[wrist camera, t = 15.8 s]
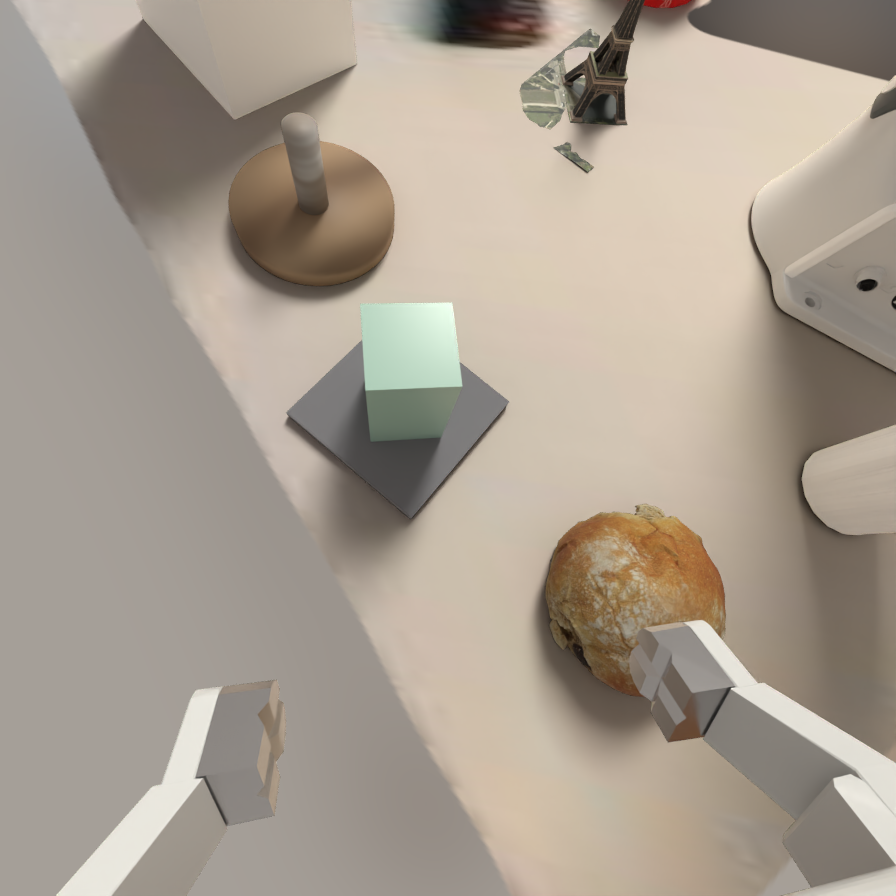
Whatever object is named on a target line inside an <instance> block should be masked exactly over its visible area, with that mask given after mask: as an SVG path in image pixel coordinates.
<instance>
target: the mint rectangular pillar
mask: <svg viewBox="0 0 896 896" xmlns="http://www.w3.org/2000/svg"><path fill="white" fill-rule="evenodd" d="M360 309H361V326H362V342H363V358H364V375H365V391H366V401H367V411H368V420H369V430H370V440H371V442H376V441H392V440H408V439H425V438H441V437H442V434H443V432H444V429H445V427H446V425H447V422H448V420H449V417H450V415H451V413H452V410H453V408H454V405H455V403H456V401H457V398H458V396H459V393H460V391H461V389H462V378H461V370H460V362H459V354H458V346H457V338H456V330H455V321H454V313H453V305H452V303H383V304H360Z"/></svg>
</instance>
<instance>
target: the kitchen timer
mask: <svg viewBox="0 0 896 896" xmlns="http://www.w3.org/2000/svg"><path fill="white" fill-rule="evenodd" d="M690 1H691V0H645V2H644V4H643V5H645V6H650V7H654V8H673V7H677V6H680V5H684V4H687V3H688V2H690Z"/></svg>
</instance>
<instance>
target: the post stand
mask: <svg viewBox="0 0 896 896" xmlns="http://www.w3.org/2000/svg"><path fill="white" fill-rule="evenodd" d="M281 129H282V133H283V138H284V142H285V143H282V144H279V145H276V146H273V147H270V148H268V149H266V150H264V151H262V152H260V153H259V154H257V155H255V156H254V157H253V158H251V159H250V160H249V161H248V162H247V163H246V164H245V165H244V166H243V167H242V168H241V169H240V171H239V172H238V174H237V175H236V177H235V179H234V181H233V183H232V186H231V189H230V193H229V212H230V216H231V220H232V222H233V225H234V227H235V230H236V232H237V234H238V237H239V239H240V241H241V244H242V245H243V247H244V249H245V250H246V252H247V253H248V254H249V256H250V257H251V258H252V259H253V260H254V261H255V262H256V263H257V264H258V265H259V266H261V267H262V268H263V269H265V270H266V271H268V272H269V273H271V274H273V275H275V276H277V277H279V278H281V279H284V280H286V281H289V282H293V283H297V284H302V285H309V286H328V285H335V284H341V283H344V282H347V281H351V280H353V279H355V278H358V277H360V276H361V275H363V274H365V273H367V272H368V271H369V270H371V269H372V268H373V267H375V266H376V265H377V264H378V263H379V262H380V260H381V259H382V258H383V257H384V255H385V254H386V252H387V250H388V248H389V246H390V244H391V241H392V238H393V232H394V200H393V195H392V192H391V189H390V187H389V185H388V183H387V181H386V180H385V178H384V177H383V175H382V174H381V173H380V172H379V170H378V169H377V168H376V167H375V166H374V165H373V164H372V163H370V162H369V161H368V160H367V159H365V158H364V157H362V156H361V155H359V154H357V153H356V152H354V151H352V150H350V149H347V148H345V147H342V146H339V145H336V144H332V143H327V142H322V141H319V134H318V127H317V123H316V121H315V120H314V119H313V118H312V117H311V116H310V115H308V114H305V113H300V112H295V113H290V114H288V115H286V116H285V117H284V118H283V119H282V121H281Z"/></svg>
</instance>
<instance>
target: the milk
mask: <svg viewBox="0 0 896 896" xmlns="http://www.w3.org/2000/svg"><path fill="white" fill-rule="evenodd" d="M136 2H137V5H138V8H139V10H140V13H141V15H142V18H143V20H144V21H145V22H146V23H147V24H148V25H149V26H150V27H151V28H152V29H153V31H154V32H155V33H156V34H157V35H158V36H159V37H160V38H161V39H162V40H163V42H164V43H165V44H166V45H167V46H168V47H169V48H170V49H171V50H172V52H173V53H174V54H175V55H176V56H177V57H178V58H179V59H180V60H181V61H182V63H183V64H184V65H185V66H186V67H187V68H188V69H189V70H190V71H191V72H192V74H193V75H194V76H195V77H196V78H197V79H198V80H199V81H200V82H201V83H202V85H203V86H204V87H205V88H206V89H207V90H208V91H209V92H210V93H211V95H212V96H213V97H214V98H215V99H216V100H217V101H218V102H219V103H220V104H221V106H222V107H223V108H224V109H225V110H226V111H227V112H228V113H229V114H230V115H231V117H232V118H233V119H234V120H235V119H238V118H240V117H242V116H244V115H246V114H249V113H251V112H253V111H255V110H257V109H260V108H262V107H264V106H266V105H268V104H271V103H273V102H275V101H277V100H279V99H282V98H284V97H286V96H288V95H290V94H293V93H295V92H297V91H299V90H301V89H303V88H306V87H308V86H310V85H312V84H314V83H317V82H319V81H321V80H323V79H325V78H328V77H330V76H332V75H334V74H336V73H339V72H341V71H343V70H345V69H347V68H350V67H352V66H354V65H356V64H357V57H356V47H355V36H354V26H353V16H352V6H351V0H136Z"/></svg>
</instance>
